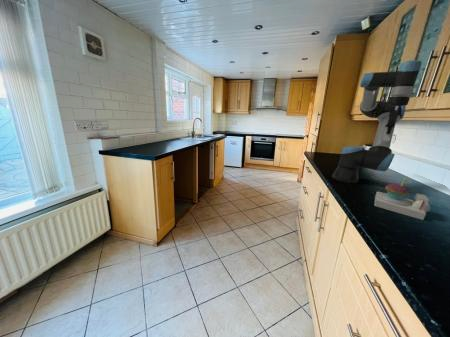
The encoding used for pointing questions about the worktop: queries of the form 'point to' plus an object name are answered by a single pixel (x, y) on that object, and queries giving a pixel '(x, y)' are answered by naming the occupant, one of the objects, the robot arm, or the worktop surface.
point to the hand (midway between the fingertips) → (385, 139)
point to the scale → (404, 205)
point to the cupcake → (397, 190)
